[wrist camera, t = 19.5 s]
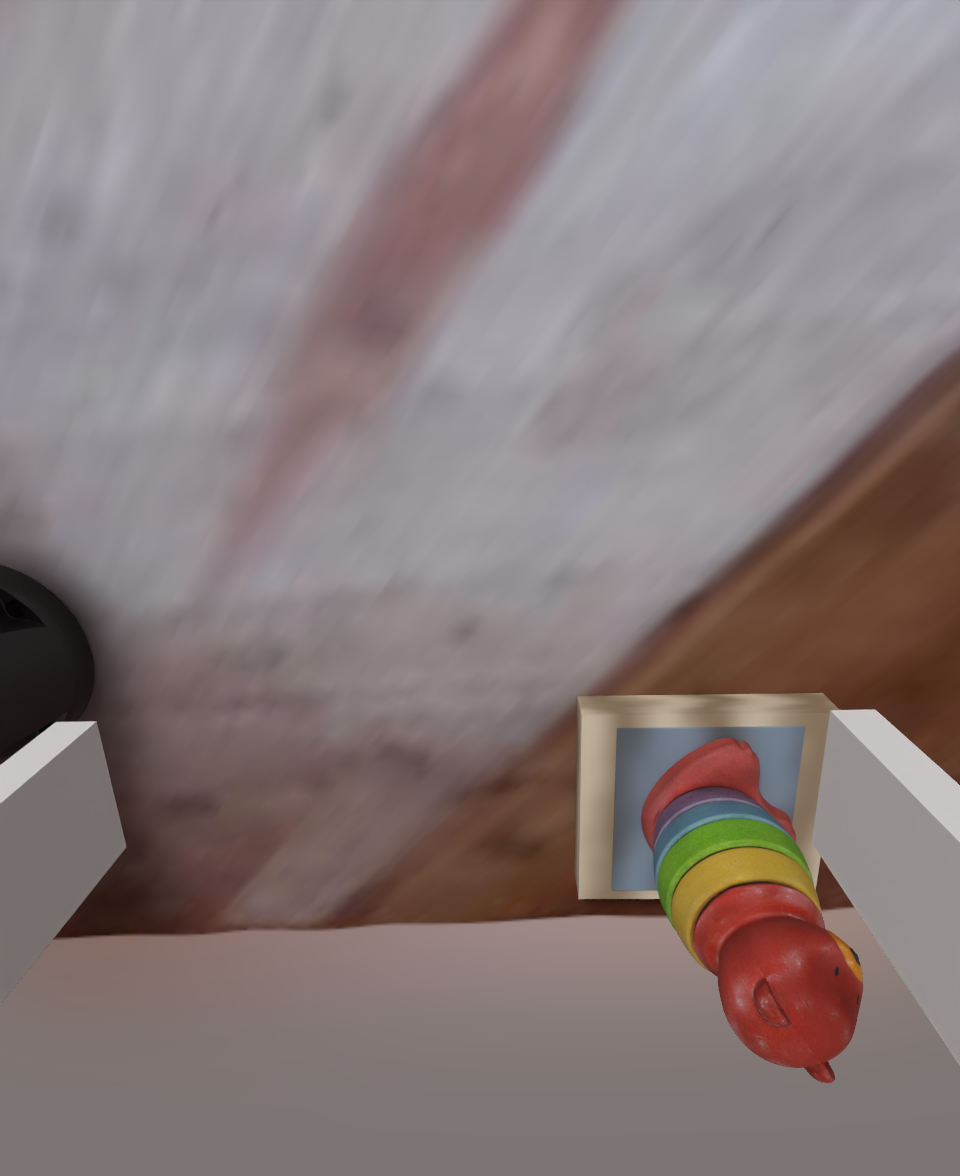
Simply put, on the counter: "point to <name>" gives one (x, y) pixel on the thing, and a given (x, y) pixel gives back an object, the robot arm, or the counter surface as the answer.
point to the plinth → (655, 743)
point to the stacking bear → (751, 908)
